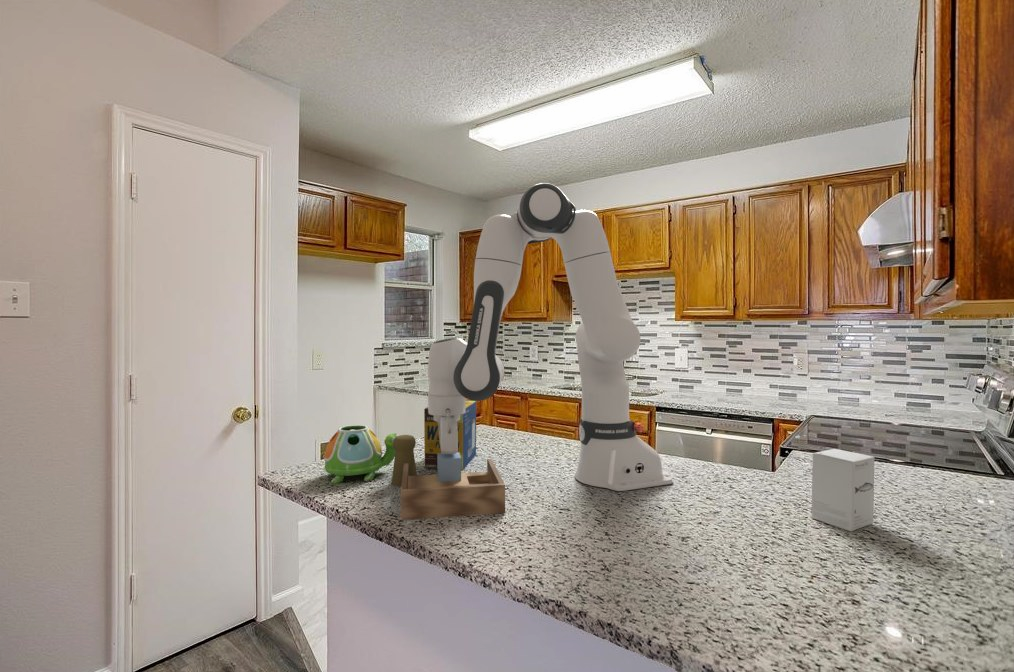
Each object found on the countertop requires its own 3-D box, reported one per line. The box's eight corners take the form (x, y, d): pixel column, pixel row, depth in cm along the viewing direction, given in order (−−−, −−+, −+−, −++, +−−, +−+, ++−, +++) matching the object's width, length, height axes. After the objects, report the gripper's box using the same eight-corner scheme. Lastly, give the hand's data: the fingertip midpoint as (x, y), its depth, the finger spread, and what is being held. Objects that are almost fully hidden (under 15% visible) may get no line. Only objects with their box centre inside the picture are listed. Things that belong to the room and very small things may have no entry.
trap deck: (491, 482, 115) (491, 458, 115) (505, 512, 96) (505, 484, 96) (404, 487, 111) (403, 463, 111) (400, 520, 93) (400, 491, 93)
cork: (420, 478, 118) (420, 433, 117) (413, 487, 112) (413, 438, 111) (396, 478, 118) (395, 432, 118) (387, 486, 112) (387, 438, 112)
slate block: (459, 473, 113) (459, 452, 113) (461, 480, 108) (461, 458, 108) (437, 475, 112) (437, 453, 112) (438, 482, 107) (438, 459, 107)
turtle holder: (405, 477, 119) (404, 428, 118) (325, 487, 112) (324, 435, 112) (396, 464, 130) (395, 419, 130) (323, 472, 123) (322, 424, 123)
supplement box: (852, 532, 86) (853, 461, 86) (810, 518, 93) (810, 452, 93) (875, 524, 90) (876, 456, 90) (832, 511, 96) (833, 447, 96)
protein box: (423, 468, 126) (423, 408, 126) (441, 453, 141) (441, 399, 141) (463, 470, 124) (463, 409, 124) (477, 454, 139) (476, 400, 139)
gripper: (464, 413, 107) (464, 475, 108) (457, 399, 128) (457, 451, 128) (434, 414, 106) (435, 477, 107) (432, 399, 126) (432, 453, 127)
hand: (447, 463), depth 117 cm, fingers closed
